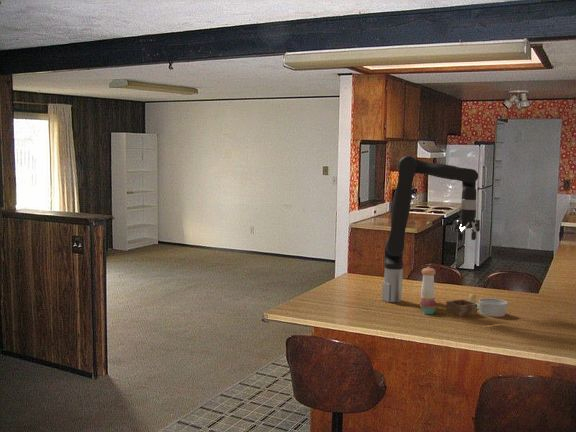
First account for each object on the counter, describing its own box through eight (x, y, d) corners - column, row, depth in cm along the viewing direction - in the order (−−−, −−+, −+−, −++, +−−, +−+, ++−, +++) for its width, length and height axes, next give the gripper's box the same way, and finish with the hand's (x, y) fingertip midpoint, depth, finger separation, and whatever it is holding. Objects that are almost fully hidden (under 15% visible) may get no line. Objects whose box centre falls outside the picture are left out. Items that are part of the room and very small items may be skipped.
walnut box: (460, 318, 285) (460, 306, 284) (445, 313, 294) (446, 301, 293) (476, 316, 289) (477, 304, 288) (461, 311, 298) (462, 299, 297)
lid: (471, 310, 298) (472, 297, 297) (457, 305, 307) (458, 293, 306) (486, 308, 302) (487, 295, 301) (472, 303, 311) (473, 291, 310)
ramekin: (503, 312, 298) (503, 298, 297) (510, 319, 285) (511, 305, 284) (475, 311, 299) (476, 297, 299) (481, 318, 286) (481, 303, 286)
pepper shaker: (417, 303, 312) (418, 266, 310) (424, 301, 317) (426, 264, 315) (429, 306, 307) (431, 268, 305) (437, 303, 313) (438, 266, 311)
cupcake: (427, 317, 286) (428, 292, 285) (415, 313, 293) (416, 288, 292) (441, 315, 290) (442, 290, 288) (429, 311, 297) (430, 287, 296)
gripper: (462, 209, 301) (461, 241, 303) (484, 208, 307) (482, 240, 309) (452, 208, 308) (450, 239, 309) (473, 207, 314) (472, 238, 316)
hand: (466, 240), depth 309 cm, fingers open, 8 cm apart
